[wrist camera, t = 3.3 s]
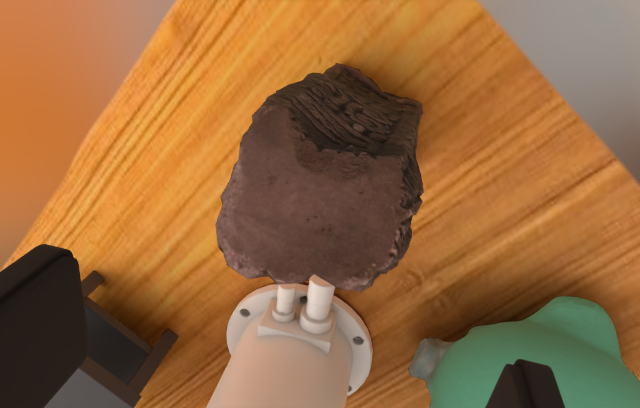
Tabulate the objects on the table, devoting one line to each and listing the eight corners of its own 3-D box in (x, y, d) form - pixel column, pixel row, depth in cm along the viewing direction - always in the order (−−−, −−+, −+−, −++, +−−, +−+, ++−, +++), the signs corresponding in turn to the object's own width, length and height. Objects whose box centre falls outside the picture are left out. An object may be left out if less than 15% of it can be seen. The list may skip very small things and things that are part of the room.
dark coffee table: (93, 267, 40) (24, 327, 33) (181, 336, 42) (133, 408, 35) (32, 342, 46) (-37, 407, 39) (111, 400, 48) (59, 472, 41)
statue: (307, 147, 31) (168, 358, 14) (328, 41, 28) (180, 139, 10) (404, 172, 31) (389, 425, 13) (437, 66, 28) (475, 215, 10)
